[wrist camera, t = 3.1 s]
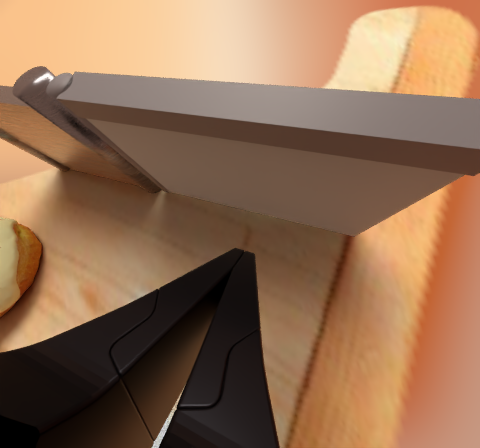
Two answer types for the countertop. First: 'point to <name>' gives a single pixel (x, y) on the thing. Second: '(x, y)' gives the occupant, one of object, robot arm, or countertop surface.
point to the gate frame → (59, 132)
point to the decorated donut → (16, 261)
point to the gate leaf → (281, 143)
